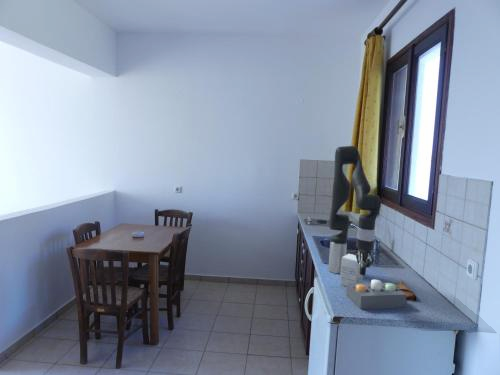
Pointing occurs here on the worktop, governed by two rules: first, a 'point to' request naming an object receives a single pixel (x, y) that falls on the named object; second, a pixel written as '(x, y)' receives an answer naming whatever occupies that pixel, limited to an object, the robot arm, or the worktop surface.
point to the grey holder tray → (375, 297)
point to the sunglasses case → (406, 291)
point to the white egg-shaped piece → (376, 285)
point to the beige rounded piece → (361, 288)
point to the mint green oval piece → (390, 287)
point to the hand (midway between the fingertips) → (362, 274)
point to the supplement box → (350, 270)
